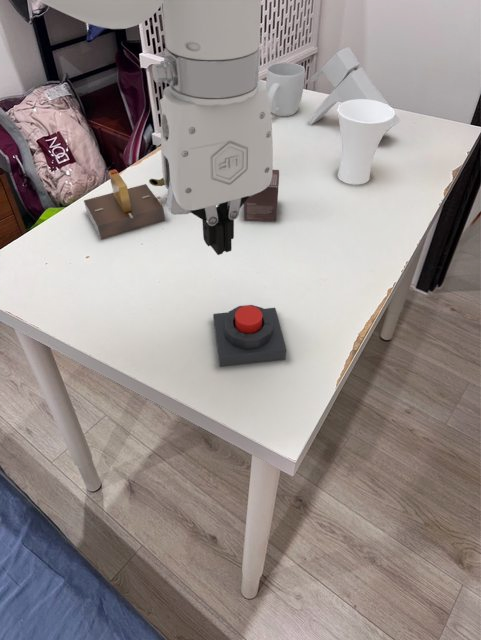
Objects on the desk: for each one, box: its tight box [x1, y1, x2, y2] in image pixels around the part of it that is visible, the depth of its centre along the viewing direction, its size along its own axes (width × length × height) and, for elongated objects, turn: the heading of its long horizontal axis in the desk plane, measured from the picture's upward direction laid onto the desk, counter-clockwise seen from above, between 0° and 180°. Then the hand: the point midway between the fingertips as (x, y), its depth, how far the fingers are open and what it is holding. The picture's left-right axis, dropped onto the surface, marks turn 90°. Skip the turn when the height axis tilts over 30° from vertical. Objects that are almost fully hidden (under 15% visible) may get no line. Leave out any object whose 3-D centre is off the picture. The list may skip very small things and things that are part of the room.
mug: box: [265, 61, 306, 117], centre depth 113 cm, size 13×9×10 cm
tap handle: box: [108, 169, 132, 213], centre depth 82 cm, size 6×1×5 cm, turn 28°
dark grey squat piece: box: [212, 304, 287, 368], centre depth 64 cm, size 9×8×4 cm
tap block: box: [83, 183, 166, 241], centre depth 85 cm, size 12×10×3 cm
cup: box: [337, 99, 396, 186], centre depth 91 cm, size 10×10×14 cm
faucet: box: [309, 46, 401, 133], centre depth 107 cm, size 6×16×20 cm
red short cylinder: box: [235, 305, 262, 334], centre depth 62 cm, size 4×4×2 cm
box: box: [243, 169, 280, 223], centre depth 84 cm, size 6×6×7 cm
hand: (218, 246), depth 52 cm, fingers closed
